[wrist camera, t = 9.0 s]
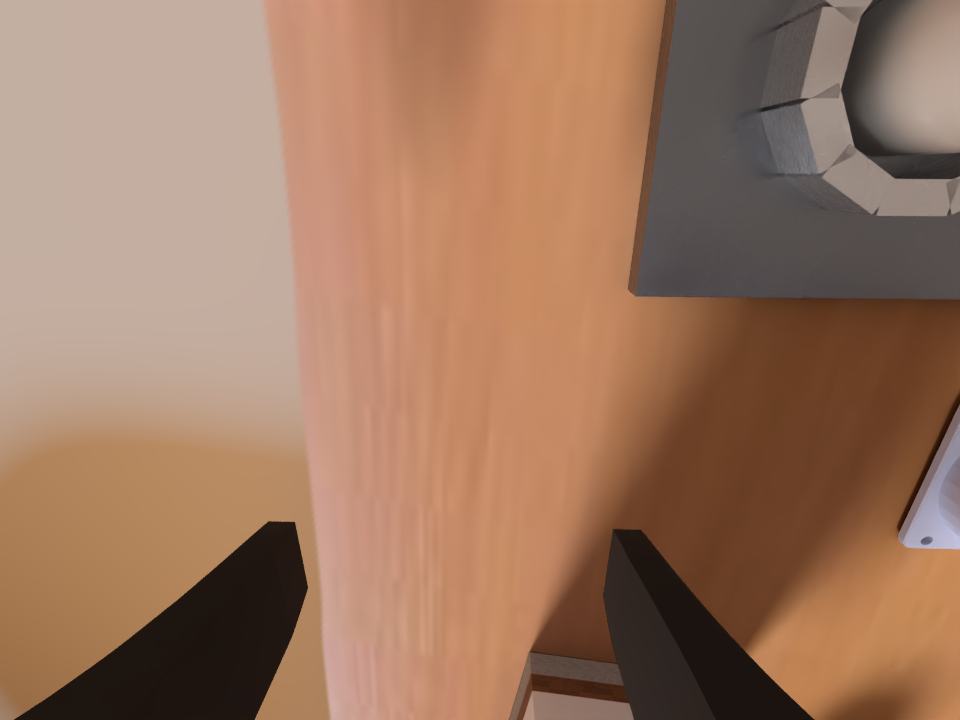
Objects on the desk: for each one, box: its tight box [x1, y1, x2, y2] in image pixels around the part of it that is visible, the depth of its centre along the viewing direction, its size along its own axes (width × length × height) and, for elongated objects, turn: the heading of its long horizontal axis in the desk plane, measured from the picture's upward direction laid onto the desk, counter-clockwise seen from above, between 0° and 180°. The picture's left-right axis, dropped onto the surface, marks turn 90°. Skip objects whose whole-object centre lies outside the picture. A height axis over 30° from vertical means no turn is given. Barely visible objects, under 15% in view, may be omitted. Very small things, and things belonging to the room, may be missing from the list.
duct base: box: [628, 0, 960, 300], centre depth 13 cm, size 14×14×3 cm
